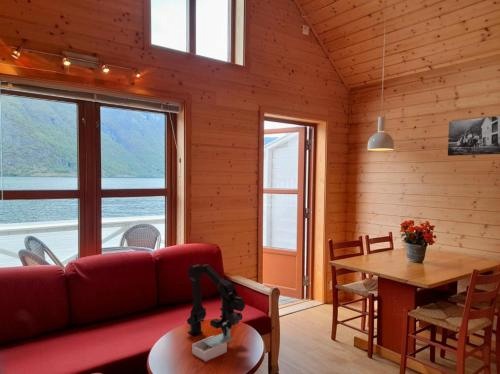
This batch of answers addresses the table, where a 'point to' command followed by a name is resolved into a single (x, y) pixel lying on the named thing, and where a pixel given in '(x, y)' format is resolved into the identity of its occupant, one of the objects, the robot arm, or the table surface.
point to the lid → (218, 339)
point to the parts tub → (208, 350)
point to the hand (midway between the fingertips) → (226, 335)
